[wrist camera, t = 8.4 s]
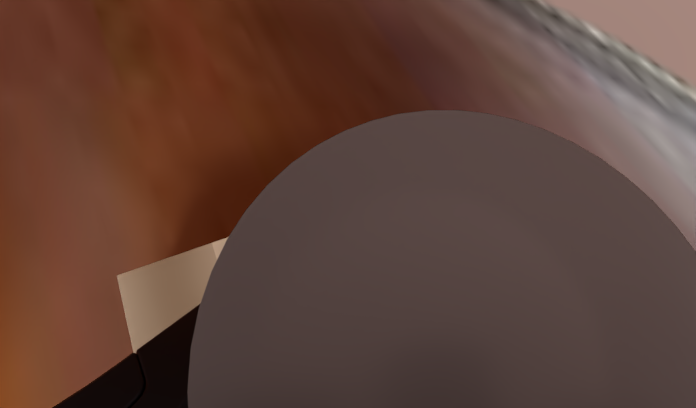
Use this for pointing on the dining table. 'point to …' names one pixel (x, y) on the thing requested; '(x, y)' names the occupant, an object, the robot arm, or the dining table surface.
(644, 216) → the plug
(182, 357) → the robot arm
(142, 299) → the socket board
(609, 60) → the dining table surface
